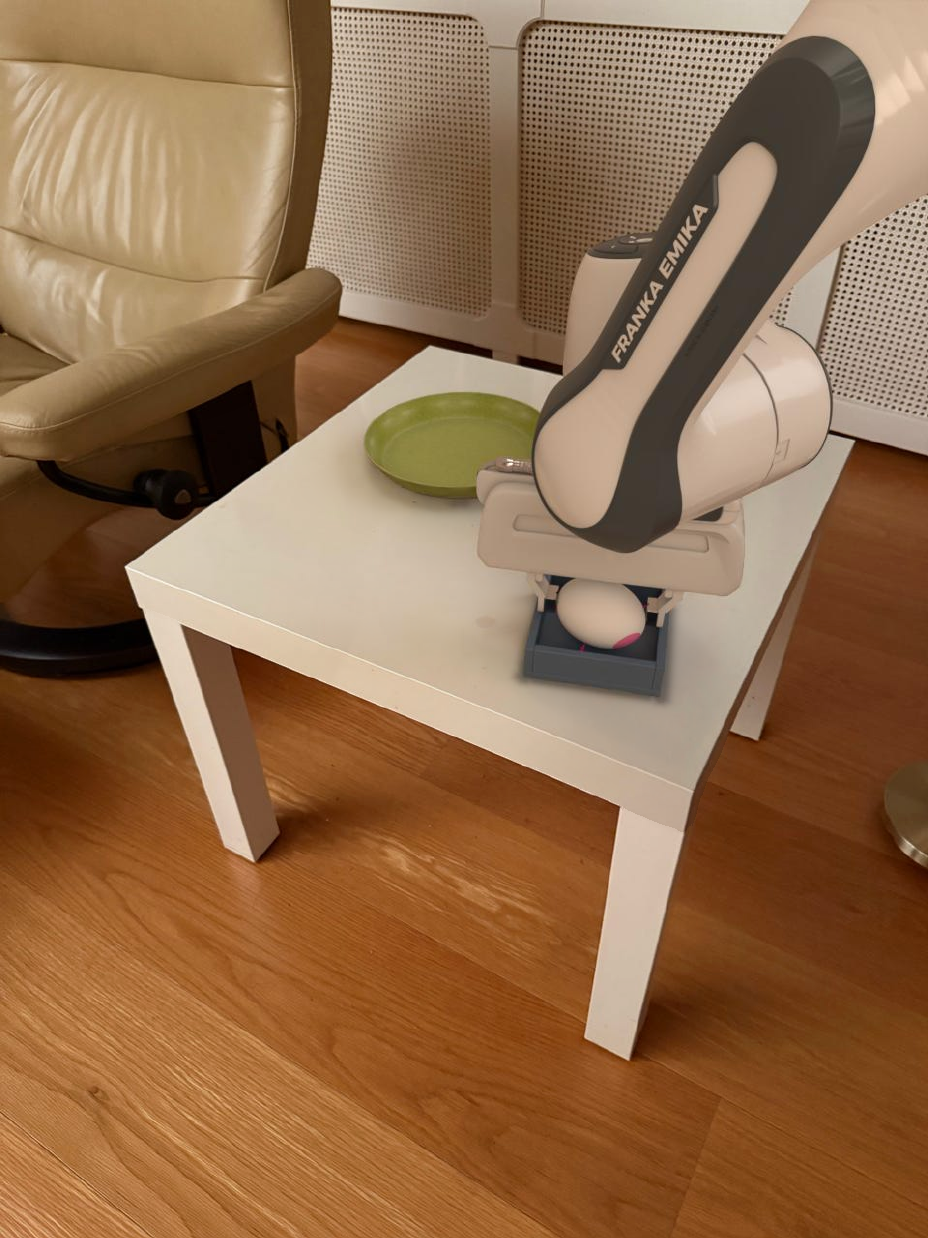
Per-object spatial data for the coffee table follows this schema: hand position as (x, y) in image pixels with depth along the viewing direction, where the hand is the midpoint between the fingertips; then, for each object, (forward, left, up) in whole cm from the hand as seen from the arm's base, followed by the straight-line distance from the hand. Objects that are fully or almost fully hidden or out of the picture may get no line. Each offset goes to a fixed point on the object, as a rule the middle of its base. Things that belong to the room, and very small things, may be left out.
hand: (600, 615), depth 72 cm
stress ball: (0, 0, -2) cm, 2 cm away
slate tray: (0, 0, -3) cm, 3 cm away
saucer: (+18, -27, -3) cm, 32 cm away
